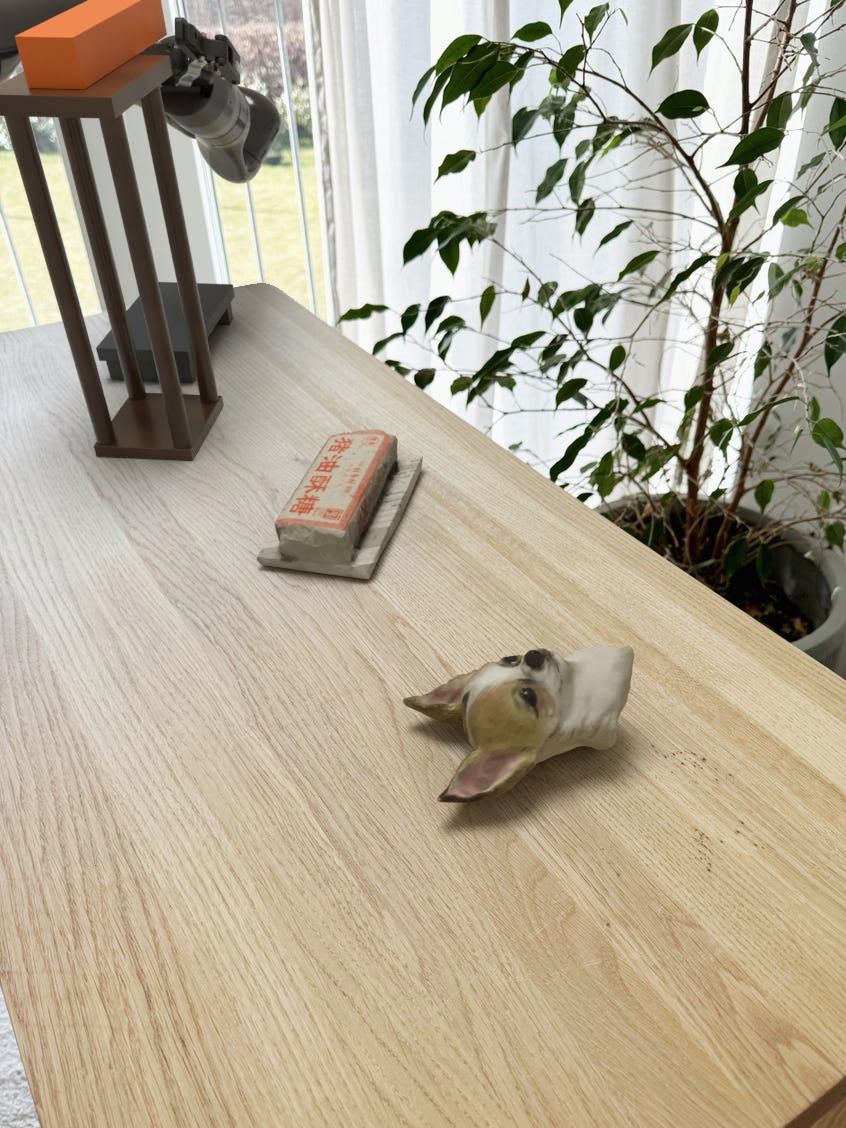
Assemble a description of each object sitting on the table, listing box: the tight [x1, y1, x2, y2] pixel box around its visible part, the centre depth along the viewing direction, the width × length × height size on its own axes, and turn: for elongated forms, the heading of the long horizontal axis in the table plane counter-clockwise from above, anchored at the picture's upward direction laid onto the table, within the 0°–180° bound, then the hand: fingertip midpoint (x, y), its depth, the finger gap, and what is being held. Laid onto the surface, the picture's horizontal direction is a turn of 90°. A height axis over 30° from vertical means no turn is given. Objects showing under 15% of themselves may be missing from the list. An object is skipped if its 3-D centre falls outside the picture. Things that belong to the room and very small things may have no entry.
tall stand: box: [0, 55, 224, 461], centre depth 91 cm, size 14×10×32 cm
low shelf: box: [95, 281, 236, 384], centre depth 114 cm, size 18×10×4 cm, turn 175°
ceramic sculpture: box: [402, 644, 635, 804], centre depth 66 cm, size 11×9×15 cm
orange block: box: [15, 0, 168, 89], centre depth 83 cm, size 20×4×4 cm, turn 175°
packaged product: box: [256, 428, 424, 580], centre depth 88 cm, size 18×5×10 cm
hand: (131, 28), depth 89 cm, fingers open, 8 cm apart
